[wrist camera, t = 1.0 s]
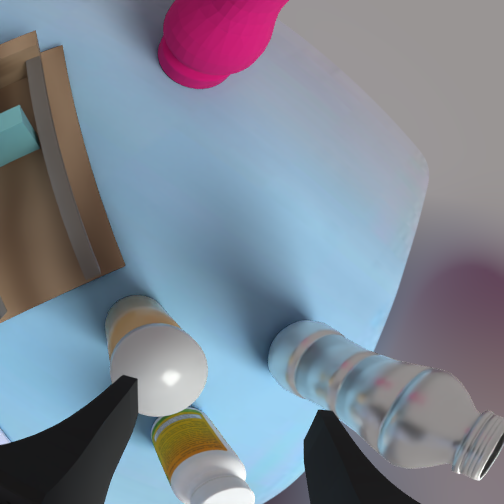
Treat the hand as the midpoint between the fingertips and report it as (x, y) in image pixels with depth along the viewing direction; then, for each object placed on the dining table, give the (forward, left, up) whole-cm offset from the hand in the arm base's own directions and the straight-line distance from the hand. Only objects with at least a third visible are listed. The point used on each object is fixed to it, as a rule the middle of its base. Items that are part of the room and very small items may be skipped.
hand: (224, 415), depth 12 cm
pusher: (-7, +15, -12) cm, 20 cm away
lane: (-7, +14, -12) cm, 19 cm away
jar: (-2, +1, -12) cm, 13 cm away
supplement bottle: (-3, -9, -13) cm, 16 cm away
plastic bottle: (+9, -7, -13) cm, 17 cm away
